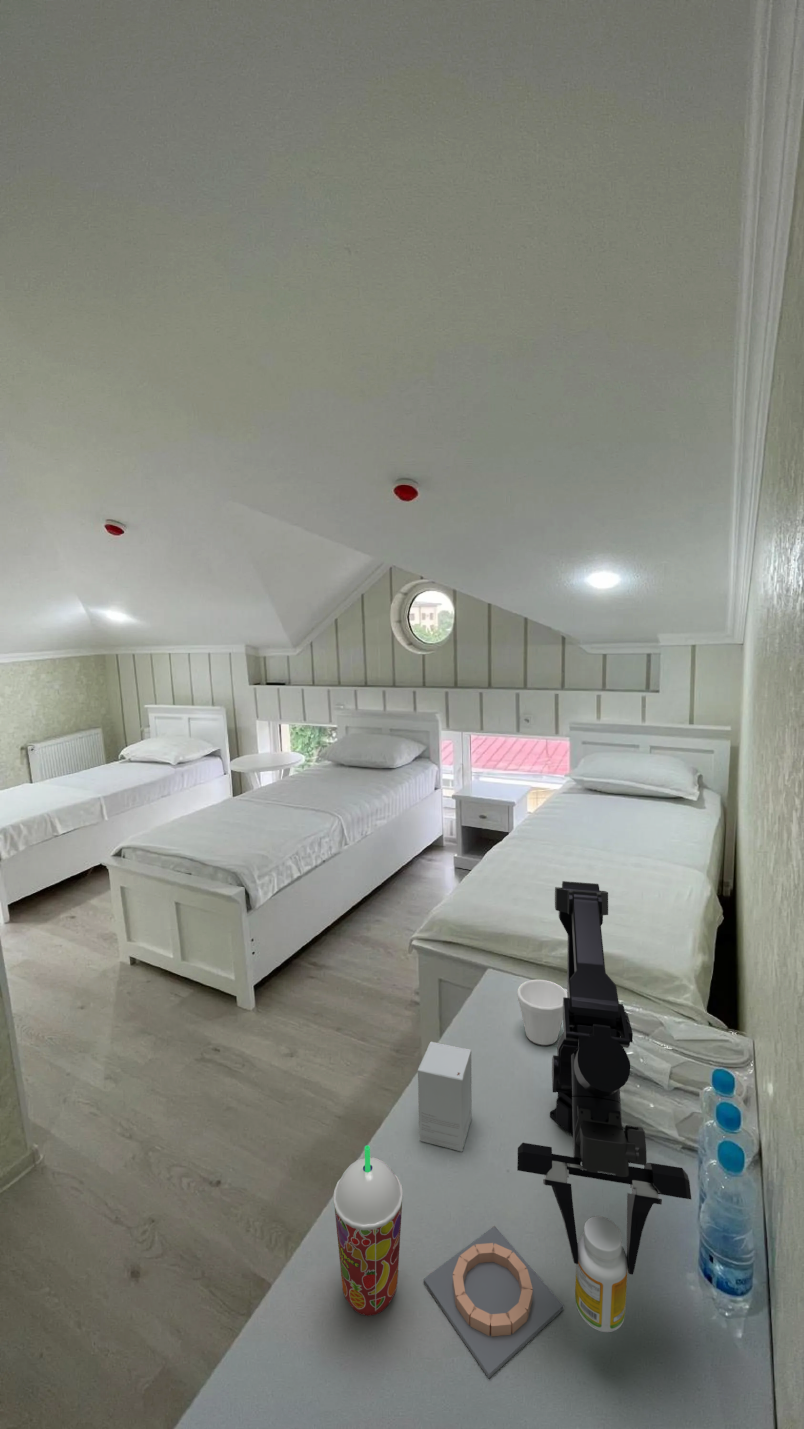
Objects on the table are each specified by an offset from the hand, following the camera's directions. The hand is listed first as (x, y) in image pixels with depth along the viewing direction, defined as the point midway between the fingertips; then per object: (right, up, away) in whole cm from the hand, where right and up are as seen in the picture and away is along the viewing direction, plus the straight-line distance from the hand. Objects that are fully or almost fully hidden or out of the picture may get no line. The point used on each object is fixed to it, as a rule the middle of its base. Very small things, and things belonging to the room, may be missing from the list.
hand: (603, 1269), depth 66 cm
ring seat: (-11, -11, +9) cm, 18 cm away
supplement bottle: (0, -7, +2) cm, 7 cm away
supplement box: (-15, -8, +34) cm, 38 cm away
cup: (+6, -4, +56) cm, 57 cm away
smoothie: (-26, -11, +9) cm, 30 cm away
